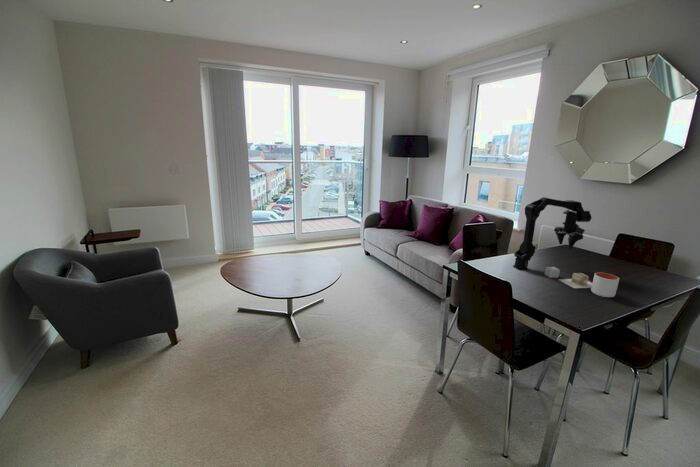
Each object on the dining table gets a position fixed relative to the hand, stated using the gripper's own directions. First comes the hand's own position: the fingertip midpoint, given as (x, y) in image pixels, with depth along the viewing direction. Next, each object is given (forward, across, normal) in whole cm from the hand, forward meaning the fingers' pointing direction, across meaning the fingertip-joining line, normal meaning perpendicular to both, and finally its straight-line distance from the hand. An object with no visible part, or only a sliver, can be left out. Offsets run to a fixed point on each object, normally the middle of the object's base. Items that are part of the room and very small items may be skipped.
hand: (565, 246), depth 198 cm
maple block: (+14, -24, +5) cm, 28 cm away
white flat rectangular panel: (+14, -24, +5) cm, 29 cm away
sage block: (+14, -14, +14) cm, 25 cm away
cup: (+14, -37, +2) cm, 40 cm away
